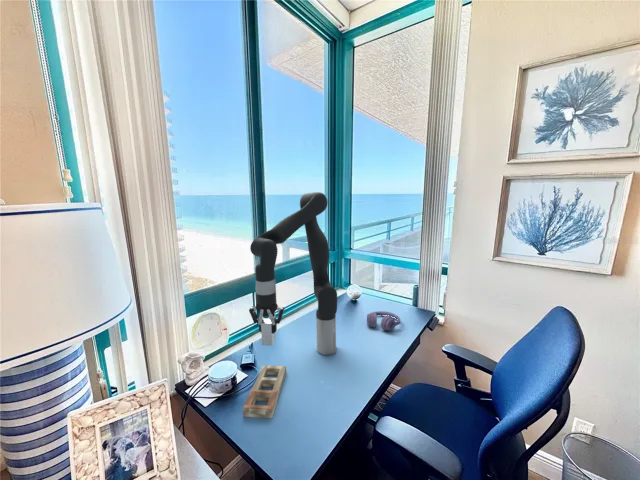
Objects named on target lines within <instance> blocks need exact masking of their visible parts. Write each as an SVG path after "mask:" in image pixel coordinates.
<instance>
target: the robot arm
mask: <svg viewBox="0 0 640 480" xmlns="http://www.w3.org/2000/svg"><path fill="white" fill-rule="evenodd" d="M299 208H300V209H299V210H297V211H296V212H294V213H292V214H290V215H288V216H286V217H284V218H283V219H282V220H280V221H279V222H278V223H277V224H275V226H274V225H273V227H272V228H271V229H269V230H266V231H265V232H263V233H261V234H259V235H258V236H257V237H255V238H254V239H253V241H251V244H250V247H249V249H250V252H251V254H252V255H254V256H255V257H259V258H260V262H259V263H258V264H256V266H255V270H254V274H255V299H256V300H255V301H256V302H255V303H256V305H255V306H253V305H252V306H251V307H250V308H249V310H248V311H249V315H250V316H251V320H252V321H253V323H254V324H257V325H258V331H259V332H260V333H261V322H262V321H263V319H265V317H268V319H270V320H271V322H272V334H274V333H276V331H277V328H278V327H277V325H278V324H280V322H281V320H282V318H283V316H284V312H285V309H286V308H285V307H284V306H282V307H281V306H279V305H278V304H277V287H276V286H277V283H276V277H275V266H276V262H277V256H278V252H279V251H278V246H277V245H280V244H283V243H285V242H286V241H287V240H288V239H289V238H291V236H293V235H294V234H295V233H296V232H297V231H298V230H300V228H302V227H303V226H304V228H305V235H306V241H307V249H308V250H307V251H308V254H309V259H310V265H311V270H312V275H313V276H312V277H313V278H312V279H313V294H314V296H315V298H316V300H317V309H316V312H315V316H316V317H315V321H316V322H315V323H316V325H315V327H316V328H315V329H316V352H318V353H319V354H320V355H323V356H324V355H325V356H329V355H333V354H336V353H337V326H336V325H337V321H336V320H337V319H336V316H337V315H336V314H337V311H338V292H337V290H336V288H335V287H334V286H333V285H332V284H331V281H330V277H329V262H330V248H329V241H328V239H327V236H326V235H325V234H324V232H323V231H322V229H321V227H320V225H319V223H318V219H317V216H319V215H320V214H322V213H323V212H325V210H326V209H327V208H328V198H327V196H326V194H324V193H323V192H320V191H319V192H318V191H317V192H316V191H315V192H307V193H306V192H305V193H303V194H302V196H300V198H299ZM276 312H277V313H278V317H276ZM257 313H258V314H259V316H258V314H257Z"/></svg>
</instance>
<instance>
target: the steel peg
mask: <svg viewBox="0 0 640 480" xmlns="http://www.w3.org/2000/svg"><path fill="white" fill-rule="evenodd" d="M275 333H276V332H275ZM275 333H274V334H272V322H271V320H270V318H264V319H263V321H262V322H261V332H260V335H261V345H262V346H273V345H274V343H275V340H276V334H275Z"/></svg>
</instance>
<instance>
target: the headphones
mask: <svg viewBox="0 0 640 480" xmlns="http://www.w3.org/2000/svg"><path fill="white" fill-rule="evenodd" d="M378 315H387V316H382V319H381V320H380V327H381V329H382V330H384V331H385V330H386V331H387V330H389V331H387V332H392V331H393V330H394V329H395V328H396V326H399V325H400V324H401V318H400V316H399V315H397V314H395V313H392V312H391V311H385V310H384V311H371V312H370V313H367V315H366V325H367V326H369V327H370V328H376V327H377V323H378V321H377V320H378V318H377V317H378ZM388 315H389V316H388ZM391 316H392V317H395V318H396V319H398V320H396V319H393V318H392V317H391Z"/></svg>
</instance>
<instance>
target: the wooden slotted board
mask: <svg viewBox="0 0 640 480" xmlns="http://www.w3.org/2000/svg"><path fill="white" fill-rule="evenodd" d="M268 375H269V376H270V375H271V376H276V377H267V376H268ZM286 375H287V366H286V365H269V364H268V365H265V364H263V365H262V366H261V368H260V371H259V372H258V375H257V378H256V380H255V382H254V384H253V386H252V388H251V390H250V392H249V394H248V396H247V398H246V401H245V402H244V405H243V407H242V417H244V418H257V419H258V418H259V419H260V418H262V419H273V416H274V414H275V411H276V407H277V404H278V401H279V398H280V395H281V391H282V388H283V385H284V382H285V378H286ZM267 387H268V388H272V390H271V389H269V390H266V389H263V388H267ZM257 401H262V402H267V403H266V405H265V404H263V405H260V404H256V403H257Z"/></svg>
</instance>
